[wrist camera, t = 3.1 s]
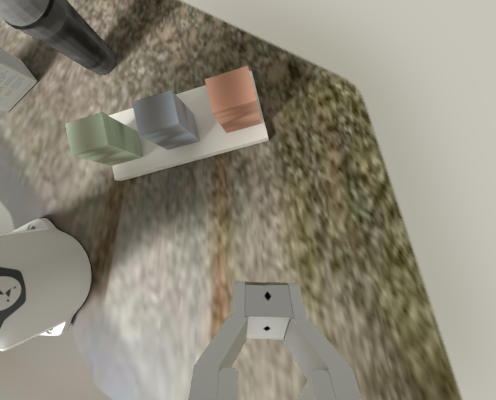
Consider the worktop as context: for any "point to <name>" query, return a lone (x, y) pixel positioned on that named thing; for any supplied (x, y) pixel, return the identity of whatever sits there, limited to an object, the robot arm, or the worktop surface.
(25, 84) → the small box
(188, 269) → the worktop surface
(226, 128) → the pink tall block
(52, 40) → the beverage cup
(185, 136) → the grey tall block
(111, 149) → the sage green block
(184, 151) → the base
